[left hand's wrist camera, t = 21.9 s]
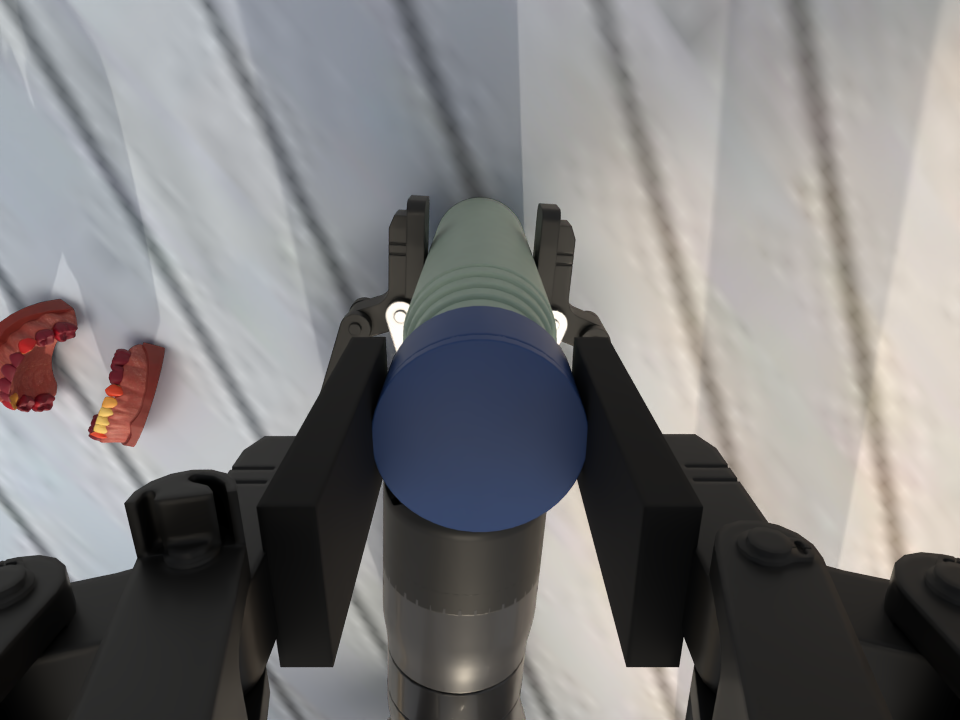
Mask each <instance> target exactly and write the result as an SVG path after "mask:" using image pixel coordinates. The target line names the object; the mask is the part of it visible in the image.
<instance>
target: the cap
mask: <svg viewBox="0 0 960 720" xmlns="http://www.w3.org/2000/svg"><path fill="white" fill-rule="evenodd" d="M587 430H588V421H587V416H586V412H585V408H584V406H583V403H582V400H581V397H580V394H579V391H578V389H577V386H576V383H575V380H574V377H573V374H572V371H571V369H570V366H569V363H568V361H567V358H566V356H565V354H564V353H563V351H562V349H561V347H560V346H559V345H558V343H557V342H556V341H555V340H554V338H553V337H552V336H551V335H550V334H549V333H548V332H547V331H546V330H545V329H544V328H542V327H541V326H540V325H538V324H537V323H536V322H534V321H532V320H531V319H529V318H527V317H525V316H523V315H521V314H518V313H516V312H513V311H511V310H507V309H503V308H499V307H491V306H469V307H461V308H456V309H453V310H449V311H446V312H444V313H441V314H439V315H436V316H434V317H433V318H431V319H429V320H427V321H426V322H424V323H423V324H421V325H420V326H419V327H417V328H416V329H415V330H414V331H413V332H412V333H411V334H410V335H409V336H408V337H407V338H406V339H405V340H404V342H403V343H402V344H401V346H400V347H399V349H398V350H397V352H396V354H395V356H394V358H393V360H392V363H391V365H390V368H389V371H388V373H387V376H386V379H385V382H384V385H383V388H382V390H381V393H380V396H379V399H378V402H377V405H376V408H375V411H374V415H373V419H372V437H373V451H374V460H375V463H376V465H377V468H378V471H379V473H380V475H381V476H382V478H383V480H384V482H385V484H386V485H387V486H388V488H389V489H390V490H391V492H392V493H393V494H394V495H395V496H396V497H397V498H398V499H399V501H400V502H401V503H403V504H404V505H405V506H406V507H408V508H409V509H410V510H411V511H413V512H414V513H416V514H417V515H419V516H421V517H422V518H424V519H426V520H428V521H431V522H433V523H435V524H438V525H441V526H444V527H446V528H451V529H455V530H460V531H469V532H491V531H500V530H504V529H509V528H513V527H516V526H519V525H522V524H525V523H527V522H529V521H531V520H533V519H535V518H537V517H539V516H541V515H542V514H544V513H545V512H547V511H548V510H550V509H551V508H552V507H553V506H555V505H556V504H557V503H558V502H559V501H560V500H561V499H562V498H563V497H564V496H565V495H566V494H567V493H568V491H569V490H570V489H571V487H572V486H573V485H574V483H575V481H576V480H577V478H578V476H579V474H580V472H581V470H582V467H583V465H584V462H585V458H586V445H587Z"/></svg>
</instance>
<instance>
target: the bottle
mask: <svg viewBox="0 0 960 720" xmlns="http://www.w3.org/2000/svg"><path fill="white" fill-rule="evenodd" d="M469 306H491V307H499V308H503V309H507V310H511V311H513V312H516V313H518V314H521V315H523V316H525V317H527V318H529V319H531V320H532V321H534V322H536V323H537V324H538V325H540V326H541V327H542V328H544V329H545V330H546V331H547V332H548V333H549V334H550V335H551V336H552V337H553V338H554V340H555V341H556V342H557V329H556V322H555V318H554V314H553V311H552V309H551V306H550V303H549V300H548V297H547V295H546V292H545V289H544V286H543V284H542V281H541V278H540V275H539V273H538V270H537V267H536V264H535V261H534V259H533V256H532V253H531V250H530V248H529V245H528V242H527V239H526V237H525V234H524V231H523V228H522V226H521V223H520V221H519V220H518V218H517V217H516V215H515V214H514V213H513V212H512V211H511V210H510V209H509V208H508V207H507V206H505V205H504V204H502V203H500V202H498V201H496V200H493V199H489V198H471V199H467V200H464V201H462V202H459V203H458V204H456V205H454V206H453V207H452V208H451V209H449V210H448V211H447V213H446V214H445V215H444V216H443V218H442V219H441V221H440V223H439V225H438V228H437V231H436V234H435V236H434V239H433V242H432V245H431V247H430V250H429V253H428V256H427V258H426V261H425V264H424V267H423V270H422V272H421V275H420V278H419V281H418V283H417V286H416V289H415V292H414V294H413V297H412V300H411V303H410V306H409V308H408V311H407V314H406V317H405V321H404V326H403V342H404V340H405V339H406V338H407V337H408V336H409V335H410V334H411V333H412V332H413V331H414V330H415V329H416V328H417V327H419V326H420V325H421V324H423V323H424V322H426V321H427V320H429V319H431V318H433V317H434V316H436V315H439V314H441V313H444V312H446V311H449V310H453V309H456V308H461V307H469Z"/></svg>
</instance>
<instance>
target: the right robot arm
mask: <svg viewBox="0 0 960 720" xmlns="http://www.w3.org/2000/svg"><path fill="white" fill-rule="evenodd" d="M428 236H429V196H417V195H411V196H410V198H409V199H408V202H407V210H398V211H397V212H396V214H395V215H394V217H393V220H392V222H391V224H390V227H389V289H388V291H387V292H386V293H385V294H383V295H380V296H377V297H374V298H366V297H363V298H359V299H357V300H356V301H355V302H354V303H353V305H352V306H351V308H350V311H349V313H348V314H347V315H346V316H345V317H344V318H343V320H342V322H341V324H340V327H339V331H338V334H337V338H336V341H335V344H334V348H333V351H332V355H331V358H330V361H329V365H328V368H327V372H326V375H325V378H324V382H323V385H322V389H323V387H324V385H325V384H326V382H327V380H328V378H329V377H330V375H331V373H332V371H333V369H334V368H335V366H336V364H337V362H338V361H339V359H340V357H341V355H342V354H343V352H344V350H345V348H346V346H347V345H348V343H349V341H350V339H351V338H352V337H372V336H375V335H379V334H382V333H386V332H389V331H390V334H391V337H392V341H393V344H394V347H395V350H396V352H397V350H398V349H399V347H400V346H401V344H402V343H403V326H404V321H405V317H406V314H407V311H408V308H409V306H410V303H411V300H412V297H413V294H414V292H415V289H416V286H417V283H418V281H419V278H420V275H421V272H422V270H423V267H424V264H425V261H426V258H427V256H428ZM574 248H575V236H574V233H573V229H572V226H571V225H570V223H569V222H568V221H567V220H561V211H560V208H559V207H558V206H557V205H556V204H541V203H539V204H538V210H537V220H536V231H535V241H534V252H533V259H534V261H535V264H536V267H537V270H538V273H539V275H540V278H541V281H542V284H543V286H544V289H545V292H546V295H547V297H548V300H549V303H550V306H551V309H552V311H553V314H554V318H555V322H556V329H557V343H558V345H560V343H561V341H562V342H565V343H567V344H570V345H572V346H574V337H608V338H609V340H610V337H609V335H608V333H607V331H606V330H605V328H604V326H603V324H602V323H601V321H600V319H599V317H598V316H597V315H596V314H595V313H593V312H591V311H583V310H580V309H578V308H576V307H574V306H572V305H571V304H569V291H570V283H571V274H572V264H573V257H574V256H573V255H574ZM610 342H611V340H610ZM322 389H321V391H322ZM320 393H321V392H320ZM545 520H546V512H545V513H544V514H542V515H541V516H539V517H537V518H535V519H533V520H531V521H529V522H527V523H525V524H522V525H519V526H516V527H513V528H509V529H504V530H500V531H491V532H469V531H460V530H455V529H451V528H446V527H444V526H441V525H438V524H435V523H433V522H431V521H428V520H426V519H424V518H422V517H421V516H419V515H417V514H416V513H414V512H413V511H411V510H410V509H409V508H408V507H406V506H405V505H404V504H403V503H401V502H400V501H399V499H398V498H397V497H396V496H395V495H394V494H393V493H392V492H391V490H390V489H389V488H388V486H387V485H386V484H385V482H384V481H383V609H384V617H385V623H386V628H387V635H388V679H387V692H388V705H389V711H390V715H391V717H390V718H388V719H387V720H526V718H525V714H524V710H523V707H522V703H521V700H520V692H521V685H522V676H523V667H524V658H525V649H526V643H527V639H528V636H529V633H530V629H531V626H532V622H533V618H534V613H535V606H536V597H537V589H538V581H539V572H540V563H541V555H542V546H543V537H544V529H545Z"/></svg>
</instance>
